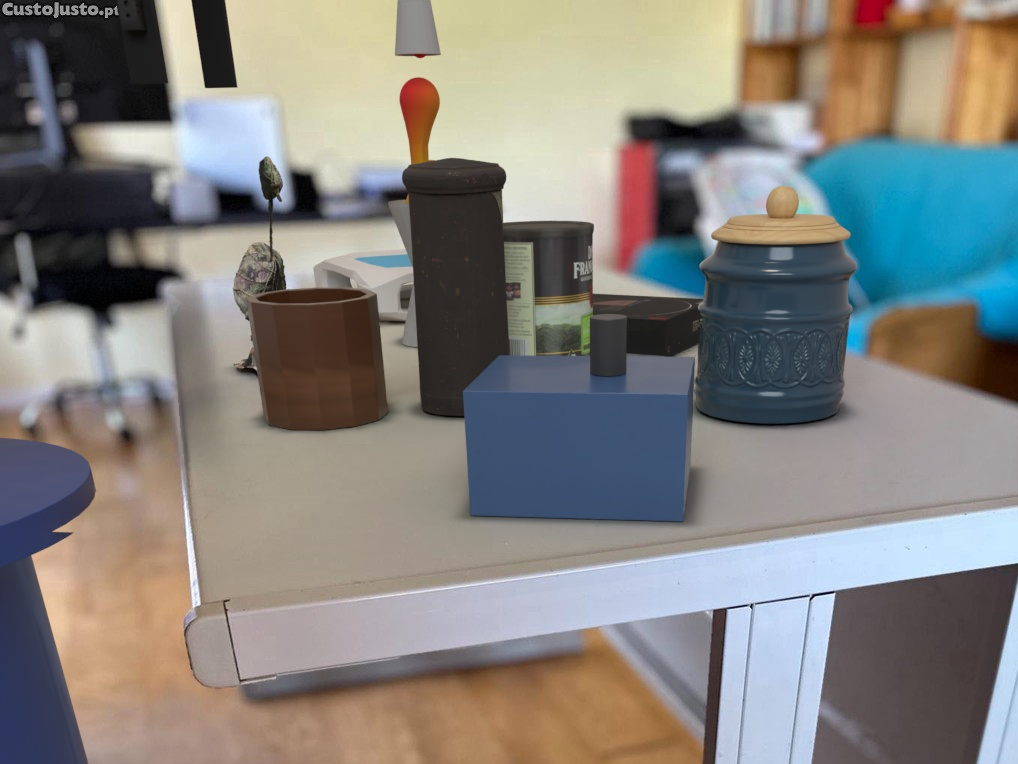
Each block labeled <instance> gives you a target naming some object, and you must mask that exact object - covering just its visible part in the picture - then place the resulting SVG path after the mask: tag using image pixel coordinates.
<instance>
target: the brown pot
mask: <svg viewBox="0 0 1018 764" xmlns="http://www.w3.org/2000/svg"><path fill="white" fill-rule="evenodd" d="M246 301H247V308H248V315H249V321H248V322H249V327H250V334H251V335H252V341H251V342H252V346H253V347H252V348H254V354H255V361H256V367H257V371H256V374H257V380H258V387H259V394H260V400H261V406H262V412H263V413H262V414H263V418H264V420H265V421H266V422H267V424H268V426H270V427H271V426H272V427H275V428H280V429H281V428H282V429H285V430H290V431H291V430H292V431H327V430H337V429H345V428H346V429H347V428H354V427H359V426H362V425H366V424H370V423H373V422H378V421H380V420H381V419H382V418H383V417H384V416H386V415H387V414H388V413H389V407H388V397H387V387H386V376H385V367H384V365H385V364H384V356H383V355H384V354H383V345H382V335H381V325H380V324H381V323H380V322H381V321H380V320H379V312H378V301H377V294H376V293H374V292H372V291H370V290H367V289H357V288H356V287H353V288H347V287H316V286H315V287H303V288H302V287H301V288H289V289H287V288H286V289H285V290H278V291H272V292H265V293H259V294H256V295H253V296H251V297H248V298H246Z"/></svg>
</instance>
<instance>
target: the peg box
mask: <svg viewBox="0 0 1018 764" xmlns="http://www.w3.org/2000/svg"><path fill="white" fill-rule="evenodd" d="M695 365H696V357H695V356H671V357H645V356H627V316H625V315H619V314H600V315H594V316H591V317H590V356H529V355H499V356H498V357H497V358H496V359H495V360H494V361H493V362H492V363H491V364H490V365H489V366H488V367H487V368H486V369H485V370H484V371H483V372H482V373H481V374H480V375H479V376H478V377H477V378H476V379H475V380H474V381H473V382H472V383H471V384H470V385H469V386H468V387H467V388H466V389H465V390H464V391H463V402H464V416H463V417H464V431H465V433H464V435H465V447H466V448H465V452H466V464H467V465H466V467H467V468H466V469H467V483H468V484H467V485H468V499H469V501H468V502H469V515H470V517H471V516H473V517H502V518H503V517H505V518H506V517H508V518H540V519H541V518H543V519H544V518H546V519H573V520H574V519H578V520H581V519H582V520H611V521H612V520H613V521H615V520H617V521H650V522H652V521H653V522H682V523H683V522H684V519H685V518H684V517H685V510H686V505H687V497H688V489H689V481H690V474H691V465H692V464H691V463H692V462H691V461H692V439H693V438H692V437H693V413H694V395H695V392H694V389H695V367H696V366H695Z"/></svg>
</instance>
